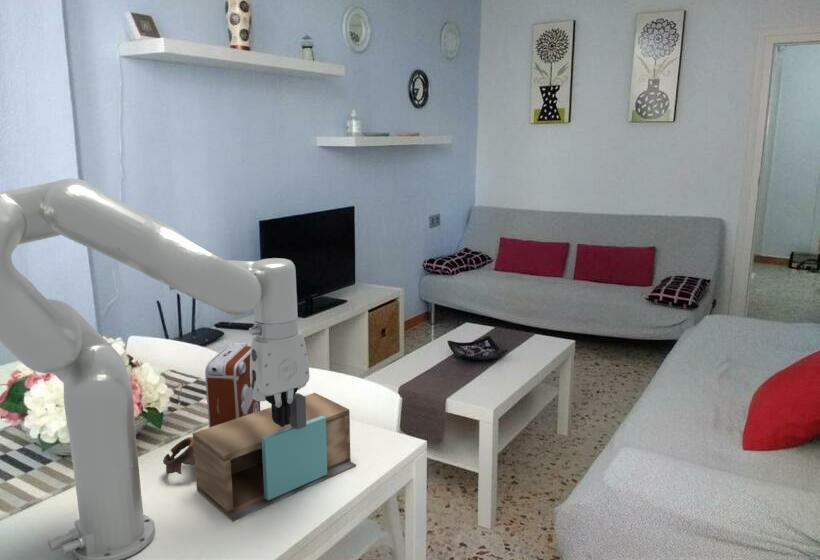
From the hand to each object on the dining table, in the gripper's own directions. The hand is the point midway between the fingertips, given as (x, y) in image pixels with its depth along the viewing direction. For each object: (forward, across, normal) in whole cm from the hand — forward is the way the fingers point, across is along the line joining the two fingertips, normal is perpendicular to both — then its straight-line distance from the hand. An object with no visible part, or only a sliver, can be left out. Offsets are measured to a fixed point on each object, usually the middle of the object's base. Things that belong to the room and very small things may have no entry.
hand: (281, 423), depth 117 cm
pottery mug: (+15, -8, +20) cm, 27 cm away
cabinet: (+15, +2, +7) cm, 17 cm away
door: (+14, +3, 0) cm, 14 cm away
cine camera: (+15, +7, +30) cm, 34 cm away
